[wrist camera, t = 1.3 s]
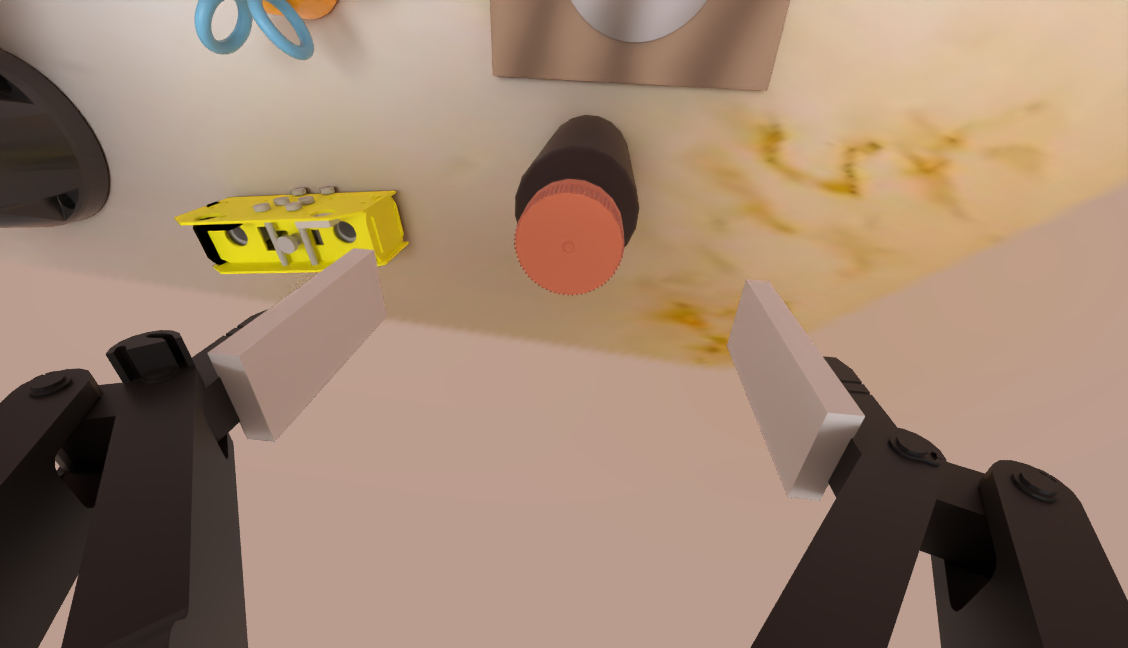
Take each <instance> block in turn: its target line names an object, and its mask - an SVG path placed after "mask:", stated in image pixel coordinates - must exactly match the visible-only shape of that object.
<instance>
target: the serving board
mask: <svg viewBox="0 0 1128 648" xmlns="http://www.w3.org/2000/svg"><path fill="white" fill-rule="evenodd" d="M789 3H790V0H490V11H491V39H492V67H493V76H503V77H522V78H541V79H560V80H578V81H597V82H616V83H635V84H653V85H672V86H691V87H710V88H728V89H747V90H766V91H767V90H768V86H769V82H770V78H771V74H772V70H773V66H774V62H775V58H776V54H777V50H778V46H779V42H780V38H781V34H782V30H783V26H784V22H785V18H786V14H787V10H788V7H789Z"/></svg>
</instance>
